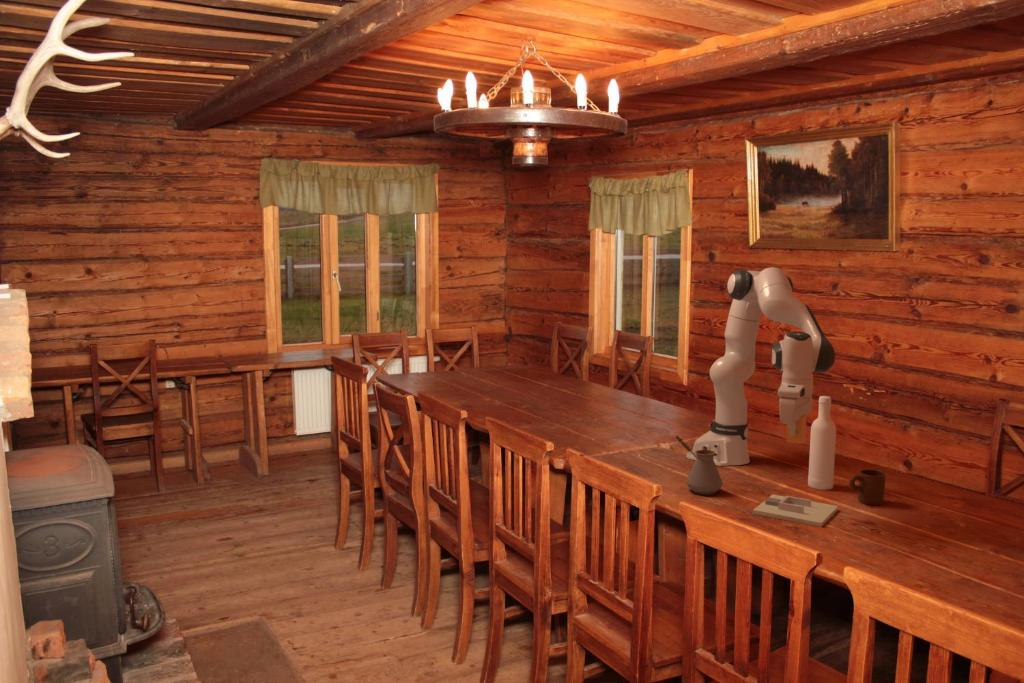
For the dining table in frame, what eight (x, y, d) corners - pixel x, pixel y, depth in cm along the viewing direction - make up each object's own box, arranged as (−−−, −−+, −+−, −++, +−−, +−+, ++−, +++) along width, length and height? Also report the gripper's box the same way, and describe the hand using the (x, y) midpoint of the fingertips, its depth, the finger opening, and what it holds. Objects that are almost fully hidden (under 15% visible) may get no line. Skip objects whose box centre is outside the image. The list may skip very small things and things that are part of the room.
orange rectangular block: (786, 442, 267) (786, 415, 266) (790, 439, 271) (791, 413, 270) (801, 444, 265) (802, 417, 264) (805, 440, 268) (806, 414, 267)
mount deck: (753, 513, 268) (753, 503, 268) (772, 498, 283) (773, 488, 282) (821, 526, 257) (821, 516, 256) (837, 509, 272) (838, 499, 271)
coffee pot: (729, 493, 287) (731, 447, 285) (701, 498, 282) (703, 452, 280) (687, 476, 306) (688, 433, 304) (660, 480, 301) (661, 437, 299)
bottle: (834, 490, 290) (839, 399, 286) (809, 489, 292) (814, 398, 288) (831, 483, 298) (836, 394, 294) (806, 482, 300) (810, 393, 295)
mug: (856, 508, 273) (858, 478, 272) (840, 500, 280) (842, 471, 279) (889, 504, 277) (891, 474, 276) (872, 497, 284) (874, 468, 283)
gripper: (797, 380, 276) (796, 425, 278) (775, 391, 259) (774, 438, 261) (817, 382, 272) (816, 427, 274) (797, 393, 256) (796, 441, 257)
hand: (796, 432), depth 267 cm, fingers closed on orange rectangular block, 4 cm apart
